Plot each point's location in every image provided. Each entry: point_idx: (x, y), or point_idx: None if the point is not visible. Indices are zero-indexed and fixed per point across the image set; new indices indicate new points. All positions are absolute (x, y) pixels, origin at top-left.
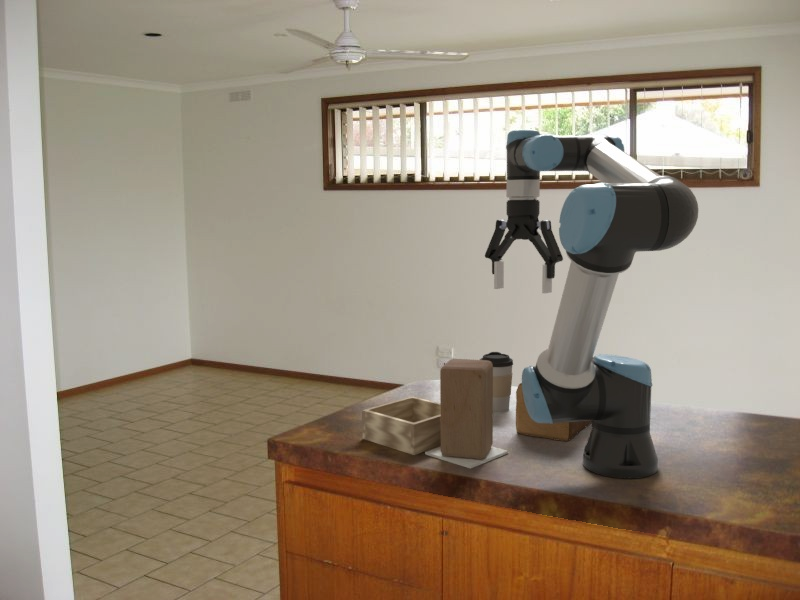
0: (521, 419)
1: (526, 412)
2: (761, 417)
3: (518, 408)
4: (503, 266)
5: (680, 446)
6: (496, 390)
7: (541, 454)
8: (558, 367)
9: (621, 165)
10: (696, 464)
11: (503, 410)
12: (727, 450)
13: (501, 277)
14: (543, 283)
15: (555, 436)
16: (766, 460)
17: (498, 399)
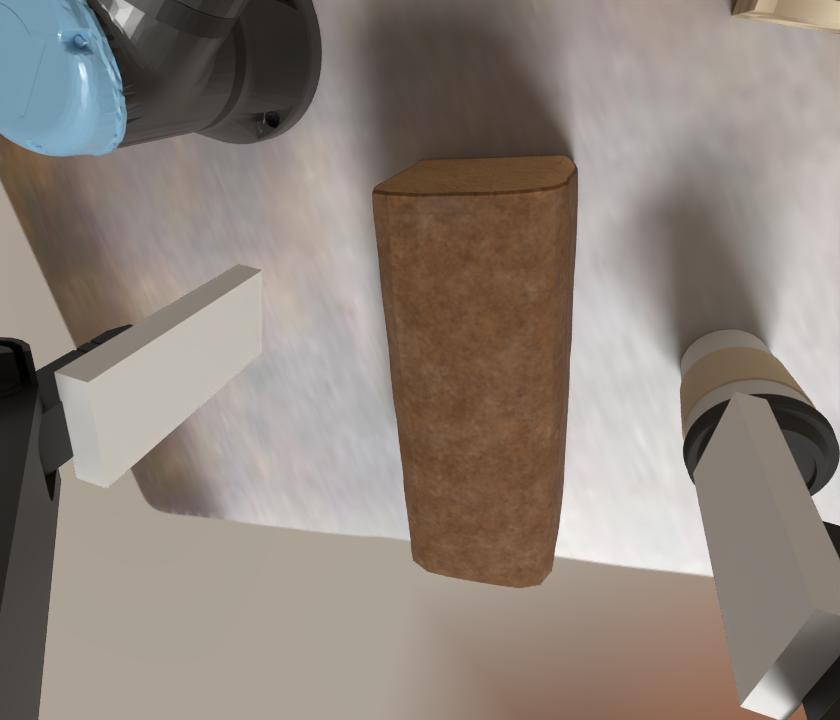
0: (552, 162)
1: (531, 167)
2: (186, 500)
3: (561, 170)
4: (728, 639)
5: (209, 266)
6: (721, 359)
7: (434, 9)
8: None
9: None
10: (136, 162)
11: (690, 347)
12: (139, 284)
13: (721, 518)
14: (206, 296)
15: (447, 159)
16: (71, 258)
17: (709, 351)
